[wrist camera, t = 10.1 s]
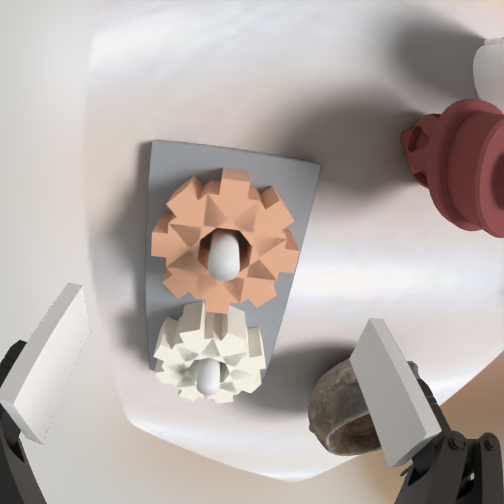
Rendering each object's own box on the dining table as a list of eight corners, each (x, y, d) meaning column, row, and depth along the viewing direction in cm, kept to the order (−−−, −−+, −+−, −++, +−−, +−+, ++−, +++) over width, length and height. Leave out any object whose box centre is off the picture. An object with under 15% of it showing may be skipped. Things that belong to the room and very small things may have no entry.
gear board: (156, 139, 22) (126, 151, 15) (316, 162, 24) (348, 184, 17) (151, 360, 32) (139, 411, 25) (262, 371, 34) (268, 423, 27)
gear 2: (144, 312, 27) (134, 340, 24) (248, 291, 27) (251, 319, 23) (182, 380, 32) (178, 408, 28) (269, 366, 31) (274, 394, 28)
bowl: (328, 323, 31) (357, 395, 22) (425, 338, 34) (460, 391, 25) (282, 400, 37) (293, 464, 28) (373, 404, 40) (393, 455, 31)
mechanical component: (444, 211, 26) (368, 180, 25) (472, 124, 22) (399, 78, 21) (526, 268, 15) (454, 235, 14) (565, 149, 11) (501, 74, 10)
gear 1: (168, 160, 22) (155, 170, 18) (300, 179, 23) (313, 193, 19) (160, 277, 26) (151, 304, 22) (274, 291, 27) (281, 319, 24)
